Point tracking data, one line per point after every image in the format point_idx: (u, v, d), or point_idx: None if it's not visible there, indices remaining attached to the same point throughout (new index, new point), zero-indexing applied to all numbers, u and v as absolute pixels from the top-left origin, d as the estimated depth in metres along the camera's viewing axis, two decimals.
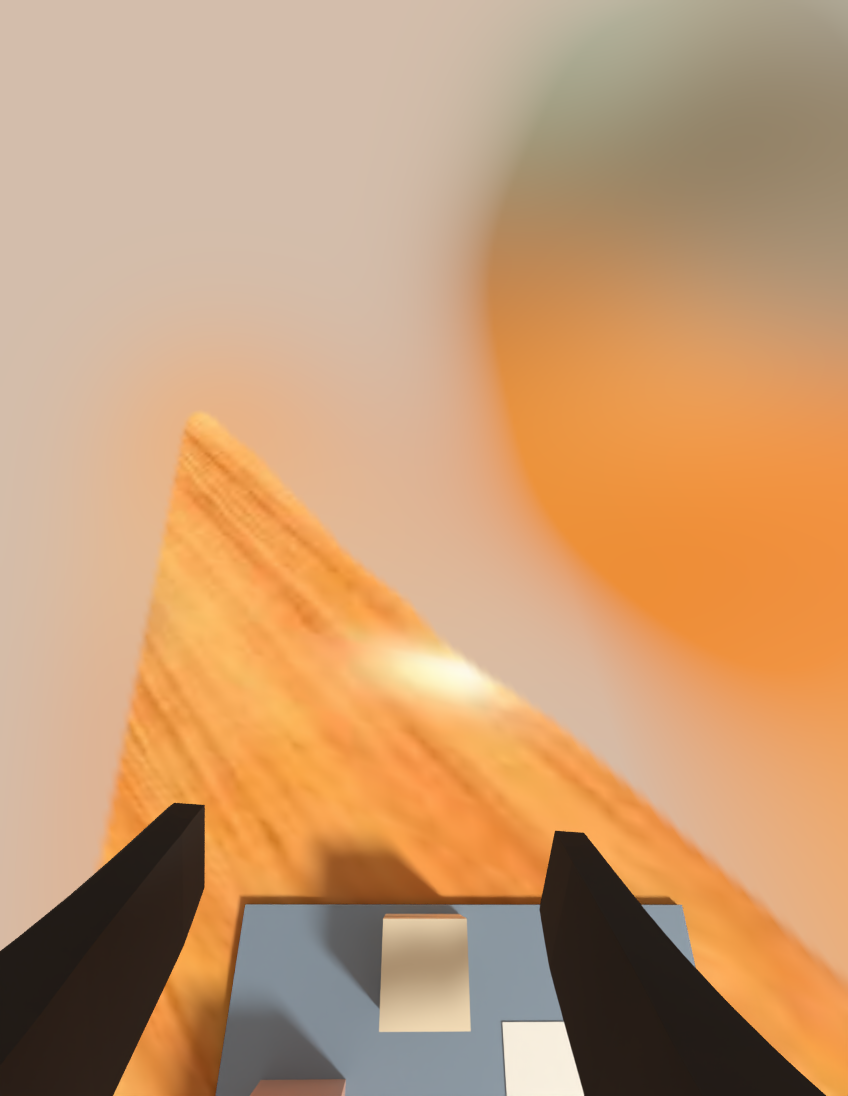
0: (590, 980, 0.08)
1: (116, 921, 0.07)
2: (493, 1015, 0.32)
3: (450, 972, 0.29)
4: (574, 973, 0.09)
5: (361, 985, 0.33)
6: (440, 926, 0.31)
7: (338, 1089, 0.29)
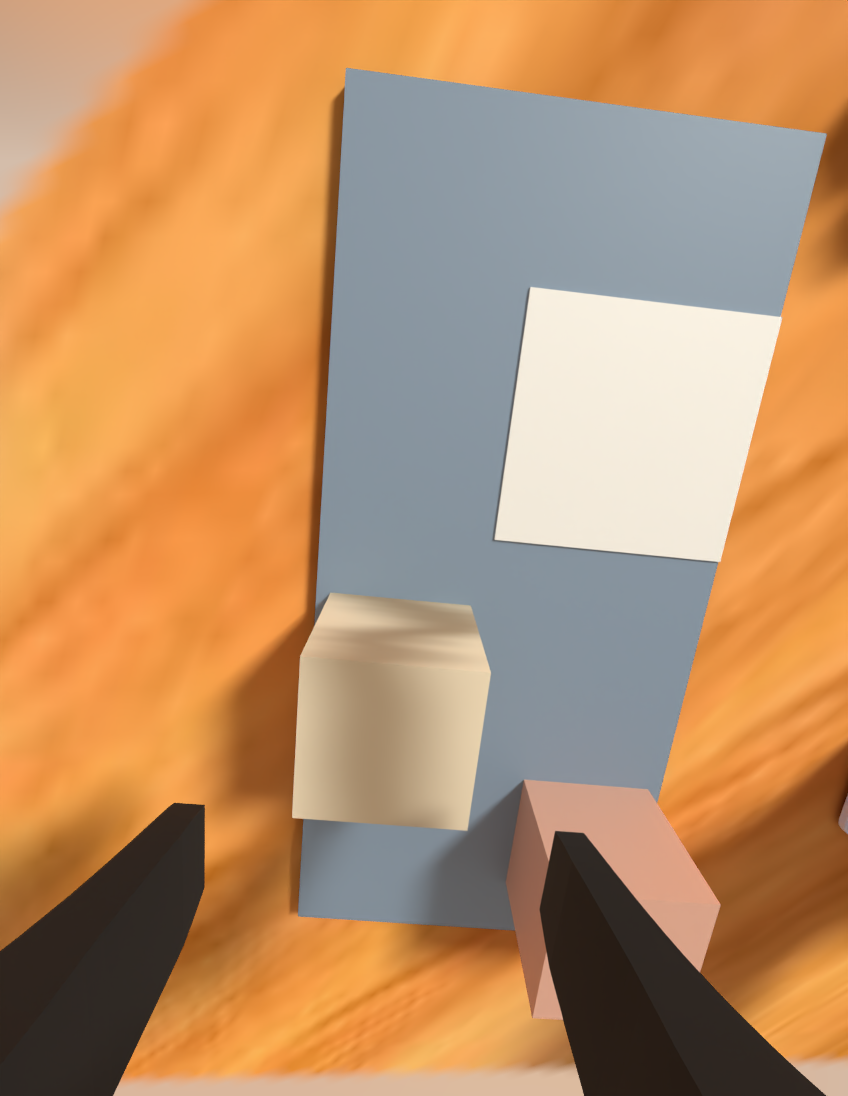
0: (590, 980, 0.08)
1: (116, 921, 0.07)
2: (483, 552, 0.18)
3: (392, 700, 0.14)
4: (574, 973, 0.09)
5: None
6: (310, 712, 0.14)
7: (532, 818, 0.19)
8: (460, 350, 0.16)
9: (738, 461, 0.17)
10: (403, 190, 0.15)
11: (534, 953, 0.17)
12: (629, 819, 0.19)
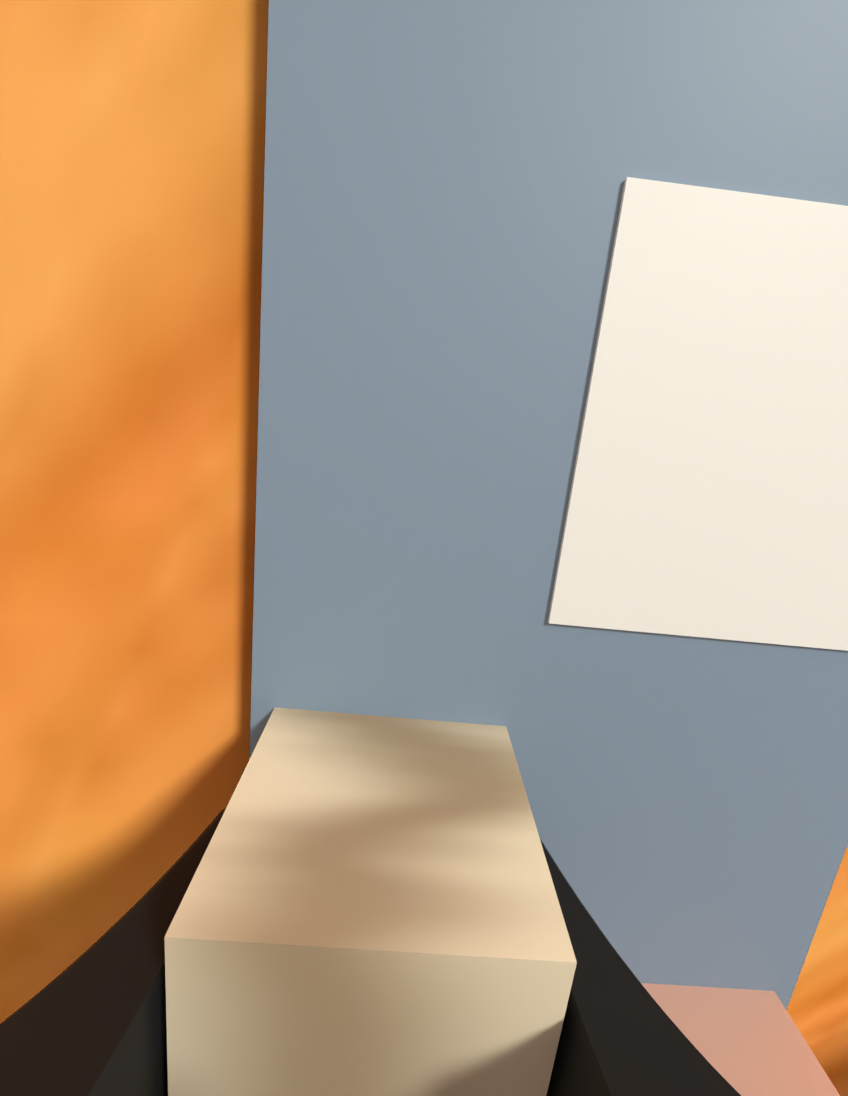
0: None
1: None
2: (529, 643, 0.11)
3: (366, 1014, 0.06)
4: None
5: None
6: (195, 1037, 0.07)
7: None
8: (496, 296, 0.09)
9: None
10: None
11: None
12: (763, 1071, 0.11)
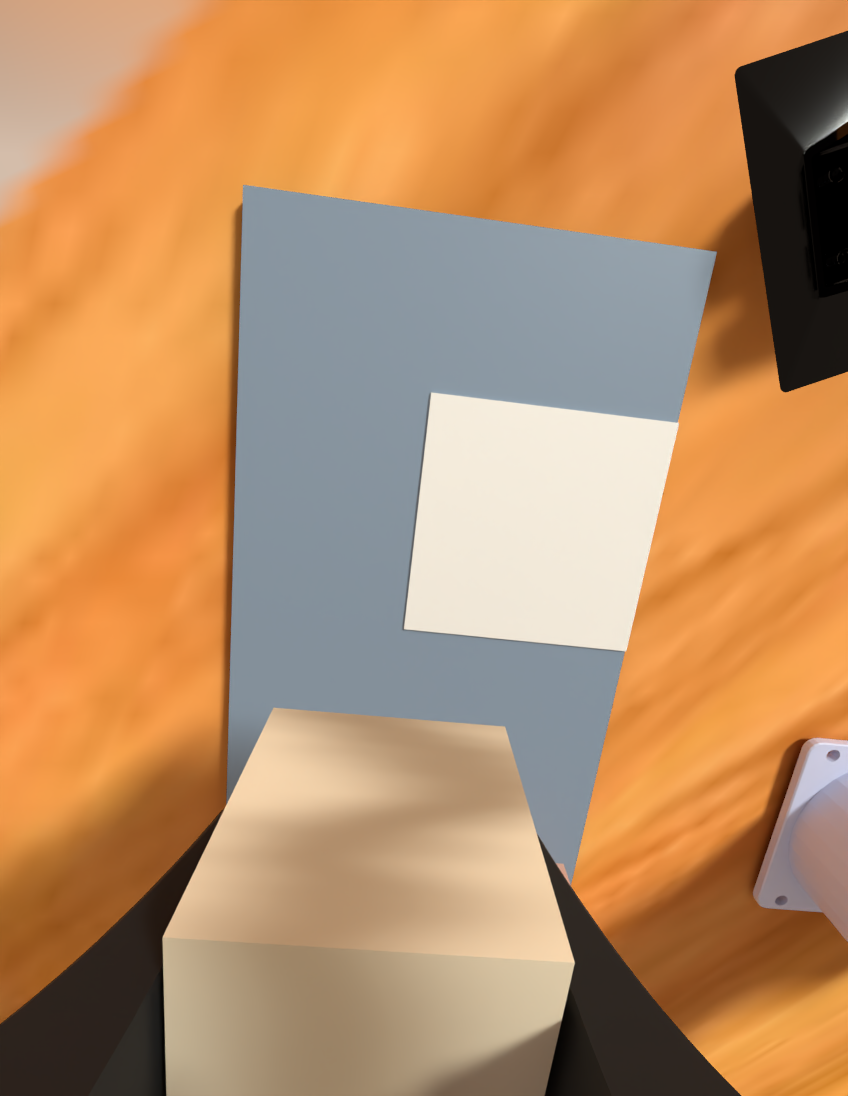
0: None
1: None
2: (394, 640, 0.18)
3: (365, 1014, 0.06)
4: None
5: None
6: (192, 1038, 0.07)
7: None
8: (364, 450, 0.17)
9: (641, 557, 0.18)
10: (303, 299, 0.15)
11: None
12: None
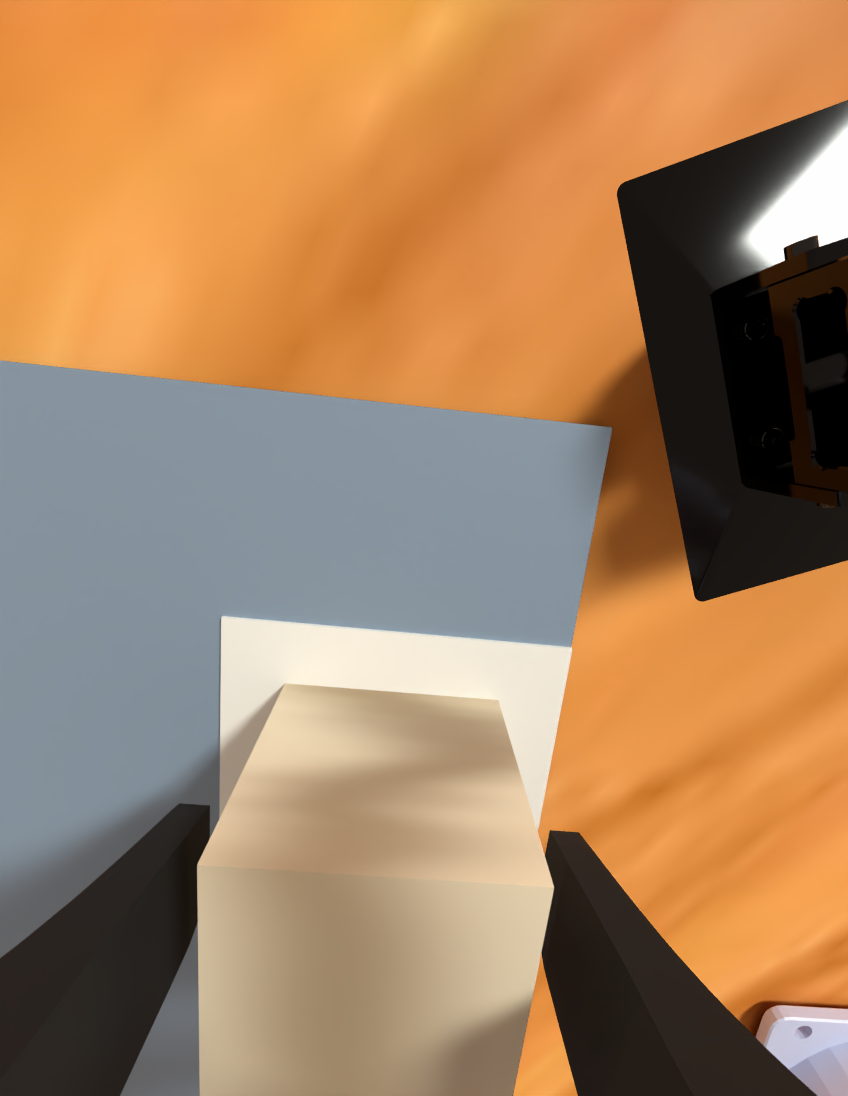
0: (584, 979, 0.08)
1: (124, 921, 0.07)
2: None
3: (372, 934, 0.07)
4: (568, 973, 0.09)
5: None
6: (222, 955, 0.07)
7: None
8: (139, 690, 0.12)
9: (533, 810, 0.13)
10: (26, 501, 0.11)
11: None
12: None
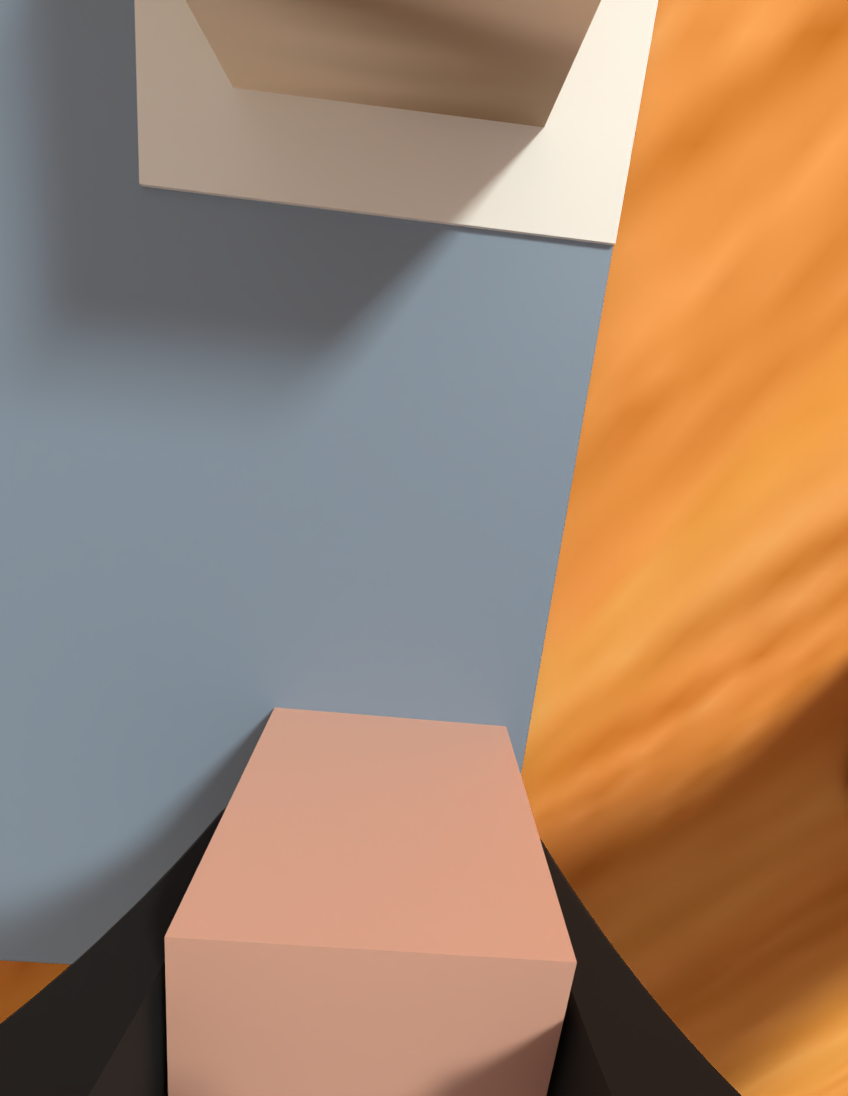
0: None
1: None
2: (125, 219, 0.09)
3: None
4: None
5: (67, 663, 0.11)
6: None
7: None
8: None
9: None
10: None
11: None
12: (444, 775, 0.09)
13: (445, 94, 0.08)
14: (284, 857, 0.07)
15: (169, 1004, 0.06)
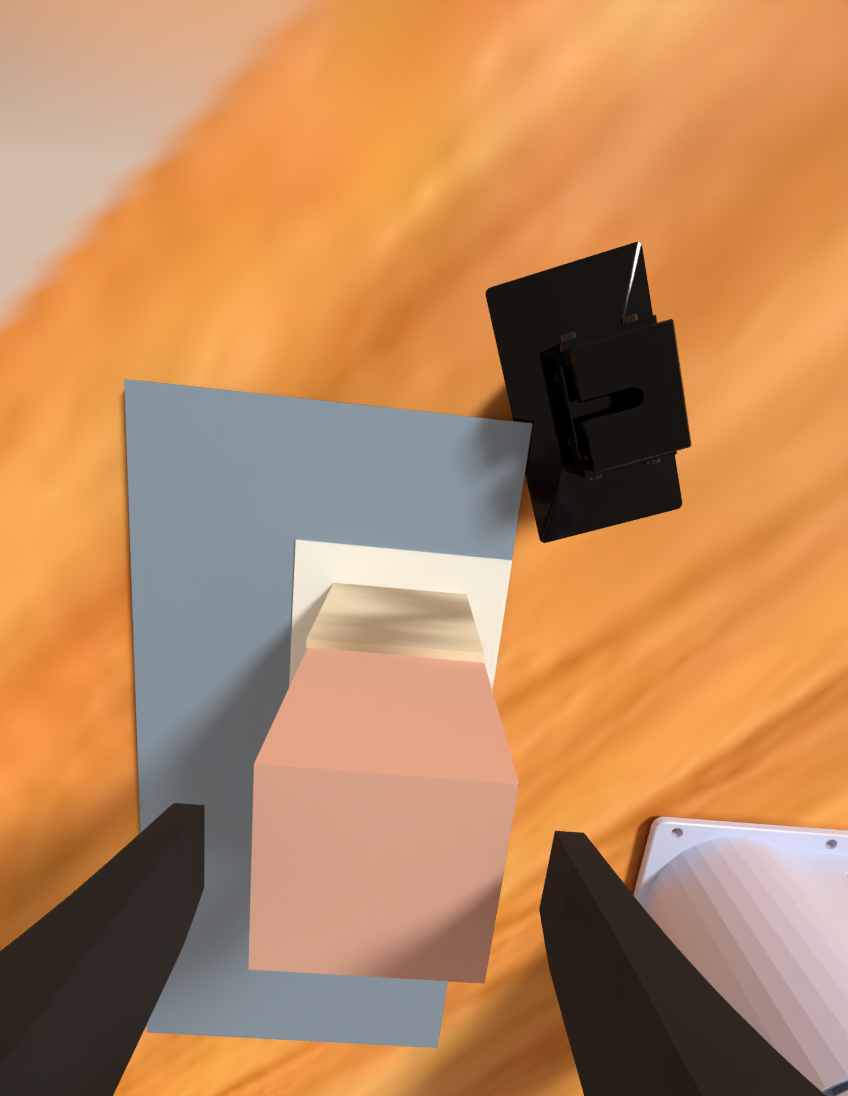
0: (590, 980, 0.08)
1: (116, 921, 0.07)
2: None
3: None
4: (574, 973, 0.09)
5: (239, 903, 0.23)
6: None
7: None
8: (242, 587, 0.19)
9: (490, 669, 0.20)
10: (181, 468, 0.18)
11: None
12: (435, 689, 0.13)
13: None
14: (325, 729, 0.11)
15: (253, 814, 0.10)
